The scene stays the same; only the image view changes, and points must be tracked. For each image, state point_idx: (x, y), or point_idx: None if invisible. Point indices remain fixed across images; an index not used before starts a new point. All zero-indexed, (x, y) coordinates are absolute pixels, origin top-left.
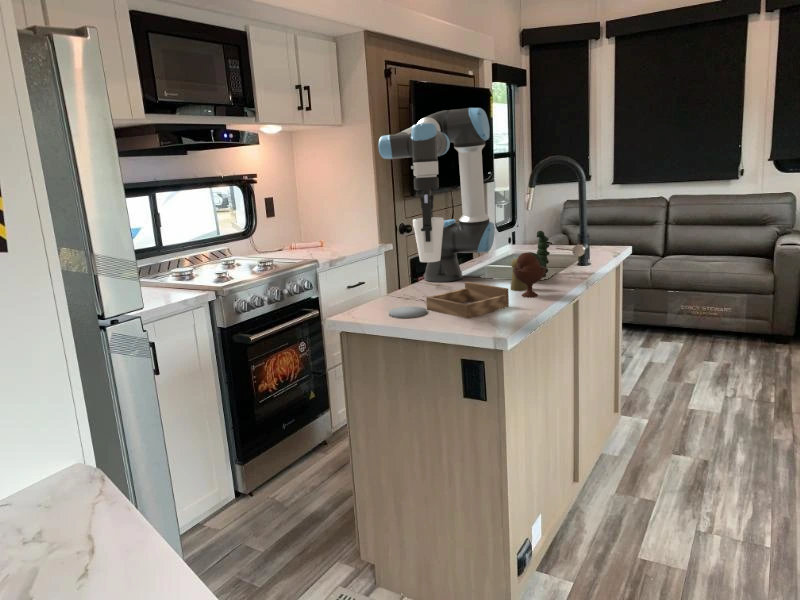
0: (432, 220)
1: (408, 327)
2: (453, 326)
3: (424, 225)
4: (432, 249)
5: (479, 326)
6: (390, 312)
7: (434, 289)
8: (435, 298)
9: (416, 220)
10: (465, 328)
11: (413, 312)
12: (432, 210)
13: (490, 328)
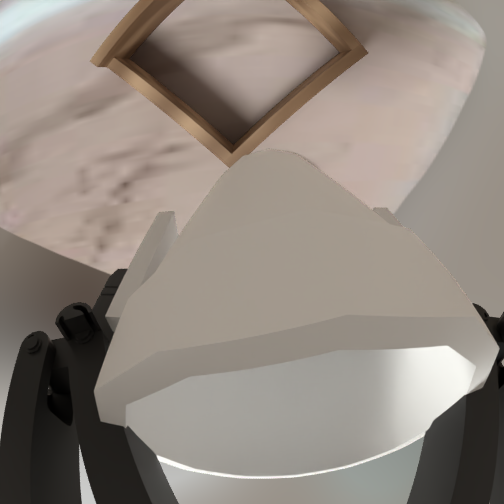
0: (481, 378)
1: (399, 195)
2: (416, 99)
3: (502, 365)
4: (393, 219)
5: (424, 46)
6: None
7: (22, 180)
8: (253, 140)
9: (378, 456)
10: (434, 78)
11: None
12: (12, 461)
13: (439, 31)
